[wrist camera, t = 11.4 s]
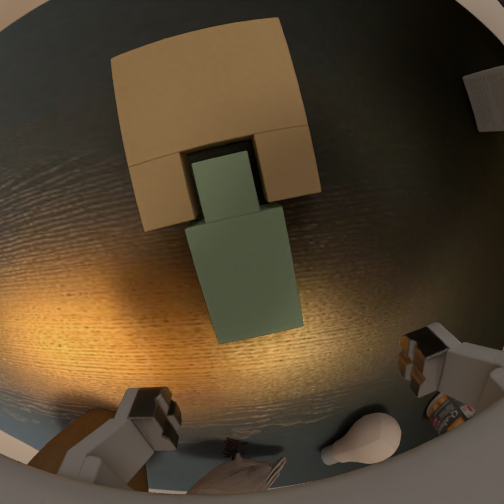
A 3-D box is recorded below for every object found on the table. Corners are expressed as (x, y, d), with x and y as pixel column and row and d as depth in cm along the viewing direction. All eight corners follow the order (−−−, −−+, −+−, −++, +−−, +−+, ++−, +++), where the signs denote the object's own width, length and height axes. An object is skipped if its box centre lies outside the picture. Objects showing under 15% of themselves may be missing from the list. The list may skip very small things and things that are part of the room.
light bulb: (334, 485, 26) (411, 458, 21) (302, 468, 26) (385, 439, 21) (340, 447, 32) (408, 417, 27) (311, 428, 32) (383, 393, 27)
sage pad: (178, 169, 20) (169, 169, 17) (265, 149, 20) (269, 145, 17) (220, 324, 24) (218, 344, 21) (296, 308, 24) (303, 326, 21)
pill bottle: (434, 390, 29) (471, 438, 19) (462, 381, 29) (498, 424, 19) (419, 418, 30) (448, 466, 21) (446, 410, 31) (477, 452, 21)
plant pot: (68, 362, 25) (-1, 469, 9) (188, 425, 27) (173, 550, 12) (56, 423, 28) (16, 503, 12) (148, 470, 30) (131, 558, 15)
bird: (174, 428, 28) (155, 540, 13) (289, 438, 29) (310, 545, 14) (174, 449, 29) (159, 549, 14) (280, 458, 30) (294, 555, 16)
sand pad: (124, 70, 18) (110, 58, 15) (273, 34, 18) (278, 16, 15) (156, 224, 21) (144, 232, 18) (310, 189, 21) (321, 192, 18)
